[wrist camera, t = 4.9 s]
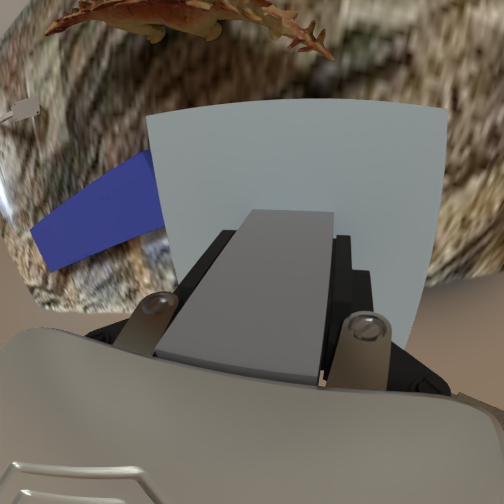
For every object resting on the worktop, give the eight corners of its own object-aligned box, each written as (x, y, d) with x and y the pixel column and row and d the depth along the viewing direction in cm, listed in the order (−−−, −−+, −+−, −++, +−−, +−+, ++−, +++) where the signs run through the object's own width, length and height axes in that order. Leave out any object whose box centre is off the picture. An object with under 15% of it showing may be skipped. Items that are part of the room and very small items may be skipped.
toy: (321, 78, 29) (341, 67, 16) (85, 42, 28) (5, 41, 16) (341, 15, 24) (370, -31, 12) (100, -11, 24) (26, -30, 11)
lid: (439, 108, 9) (598, 156, 2) (401, 340, 15) (407, 490, 8) (157, 114, 13) (-15, 168, 5) (197, 321, 18) (127, 440, 11)
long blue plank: (40, 224, 50) (59, 267, 53) (29, 229, 47) (48, 274, 50) (152, 148, 35) (180, 219, 38) (137, 151, 33) (167, 226, 36)
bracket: (40, 113, 34) (-14, 131, 28) (27, 121, 47) (-11, 134, 40) (39, 95, 33) (-16, 112, 26) (26, 107, 45) (-13, 120, 39)
